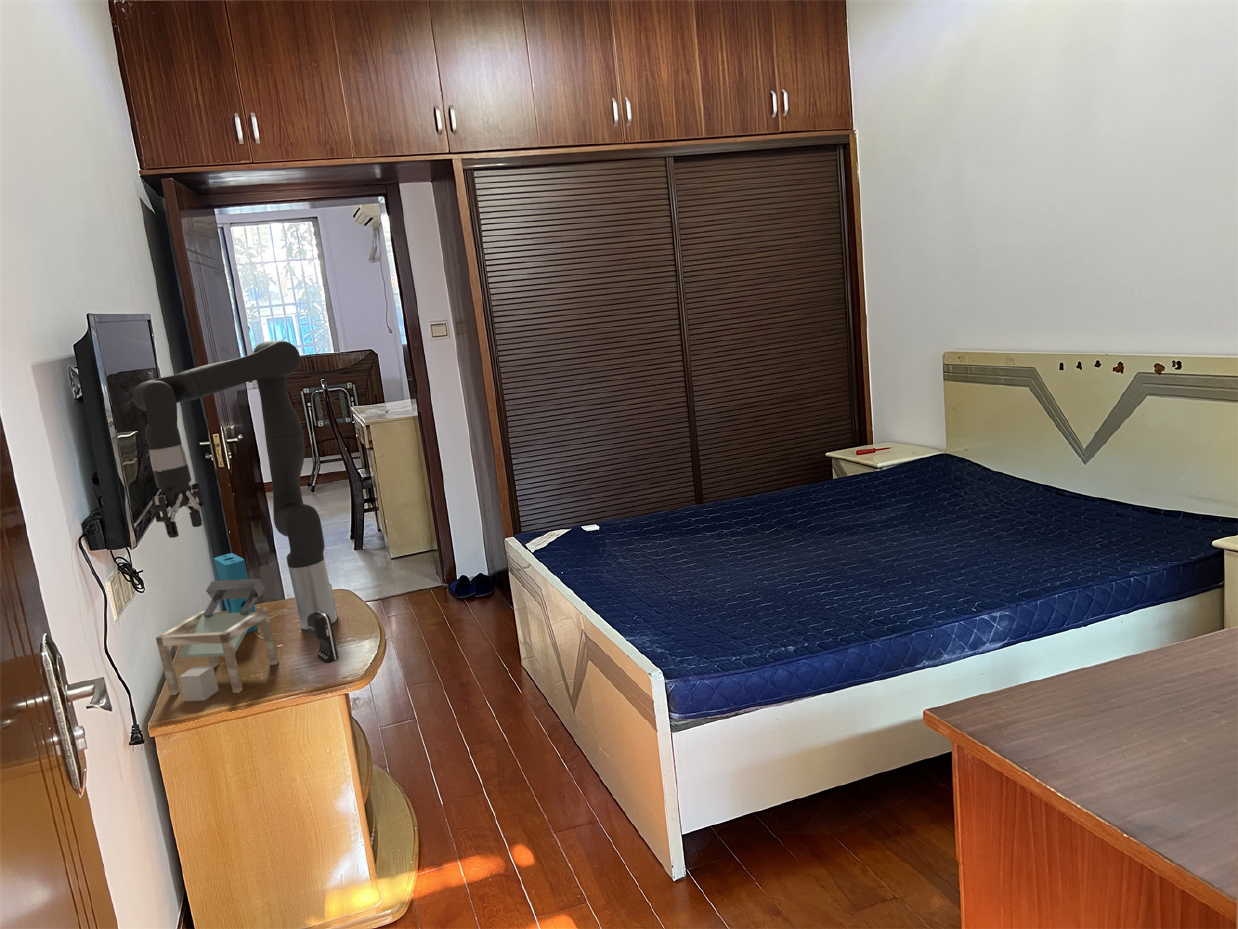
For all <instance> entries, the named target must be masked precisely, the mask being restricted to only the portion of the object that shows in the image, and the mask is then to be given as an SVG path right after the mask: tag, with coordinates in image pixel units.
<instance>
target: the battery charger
mask: <svg viewBox="0 0 1238 929" xmlns="http://www.w3.org/2000/svg"><path fill="white" fill-rule="evenodd" d="M307 623H308V629H309V630H308V632H309V635H310V636H311V637H313V638H315V639H317V640H318V644H319V648H318V652H317V655H316V656H317V658H318V659H319V660H321V661H323V662H324V663H330V662H333V661H337V660H338V659H339V653H338V648H337V645H336V638H335V632H334V628H333V624H332V623H331V619H330V617H329V615H328V614H326V613H325V612H322V611H317V612H315V613H312V614H310V615H309V616H308V618H307Z"/></svg>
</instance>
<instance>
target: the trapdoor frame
mask: <svg viewBox="0 0 1238 929" xmlns="http://www.w3.org/2000/svg"><path fill="white" fill-rule="evenodd" d="M205 611H206V610H203V611H202V610H201V611H199V612H197V613H196V614H194V615H192V616H191V617H189V618H187V619H185V620H184V621H182V622H180V623H178V624H177V625H176V626H174V627H172V628H171V629H169V630H167V631H165V632H164V633H162V634H160V635H158V636H157V637H155V640H156V644H157V648H158V652H159V657H160V661H161V665H162V667H163V668H162V669H163V672H164V677H165V680H166V685H167V687H168V692H169V696H177V694H179V693H181V689H180V687H179V683H178V678H177V675H176V670H175V665H174V662H173V659H172V654H171V650H170V647H171V646H173V647H174V646H184V645H195V644H216V643H221V644H222V648H223V652H224V656H223V657H224V660H225V664H226V667H227V668H226V669H227V672H228V677H229V682H230V685H231V690H232V694H240V693H241V692H242V691H243V690H244V688H243V684H242V680H241V675H240V671H239V666H238V662H237V658H236V652H235V653H234V649H233V645H232V639H234V638H235V637H237V636H238V635H240V634H241V633H243V632H244V631H246V630H247V629H249V628H250V627H252V626H258V627H261V631H262V636H263V641H264V644H265V649H266V654H267V658H268V662H269V663H268V664H269V665H270V666H273V665H274V666H275V665H277V664H279V662H280V660H279V655H278V652H277V651H278V650H277V647H276V641H275V638H274V634H273V629H272V625H271V621H270V616H269V615H270V614H269V612H268V611H269V610H268V608H267V607H260V608H259V609H257V610H255V612H254V613H252V614H251V615H249V616H248V617H246V618H245V619H243V620H242V621H240V622H238V623H237V624H235V625H234V626H232V627H231V628H229V629H228V630H226V631H225V632H216V633H197V634H191V633H187V632H189V631H191V630H192V629H194V628H195V626H196V625H197V623H198V621H199V620H200V618H201V616H202V615H203V614H204V612H205ZM218 657H219V656H211V657H207V660H208V664H209V666H213V668H216V667H218V666H219V665H220V662H219V658H218Z"/></svg>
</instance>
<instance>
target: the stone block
mask: <svg viewBox="0 0 1238 929" xmlns="http://www.w3.org/2000/svg"><path fill="white" fill-rule="evenodd" d="M214 668H215V667H213V666H210V665H203V666H202V665H201V666H199V665H198V666H193V667H191V668H190V669H188V670H186V672H184V673H183V674H181V675H179V680H180V684H181V689H182V693H183V696H184V701H185V702H199V701H203V702H205V701H206V700H208V699H209V698H210V697H212V696H213V695H215V693H217V692H219V686H218V681H217V677H216V674H215V673H216V672H215V670H214Z"/></svg>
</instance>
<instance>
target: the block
mask: <svg viewBox="0 0 1238 929" xmlns="http://www.w3.org/2000/svg"><path fill="white" fill-rule="evenodd" d="M213 561H214V565H215V570H216V574H217V578H218V579H217V580H218V581H226V580H241V579H249V575H248V571H247V570H248V569H247V567H246V561H245V558H243V557H240V556H239V555H237V554H234V553H233V552H231V553H226V554H223V555H219V556H216V557H214V558H213ZM247 599H248V598H239V599H223V603H224V607H225V611H226V613H239V612H241V610H242V608H243V606H244V604H245V603H246V601H247ZM255 606H256V605H255V603H254V604H253V606H252V608H251V610H250V612H255V611H256V607H255ZM258 629H259V626H252V627H250V628H249V629H248V630H247V632H246V634H248V633H253V632H254V631H258Z"/></svg>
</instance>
